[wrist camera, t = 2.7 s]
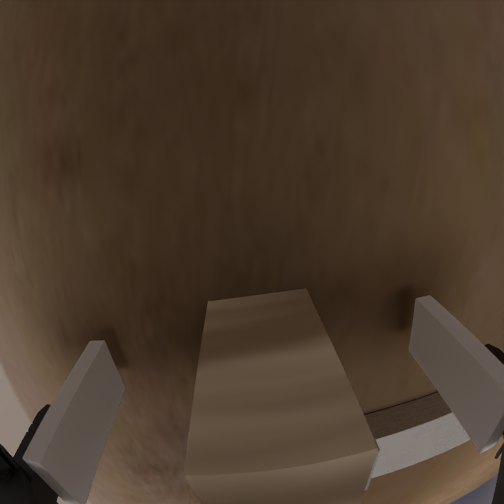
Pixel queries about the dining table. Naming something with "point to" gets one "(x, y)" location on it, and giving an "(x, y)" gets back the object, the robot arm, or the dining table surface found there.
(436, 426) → the rail
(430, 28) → the dining table surface
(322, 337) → the block
